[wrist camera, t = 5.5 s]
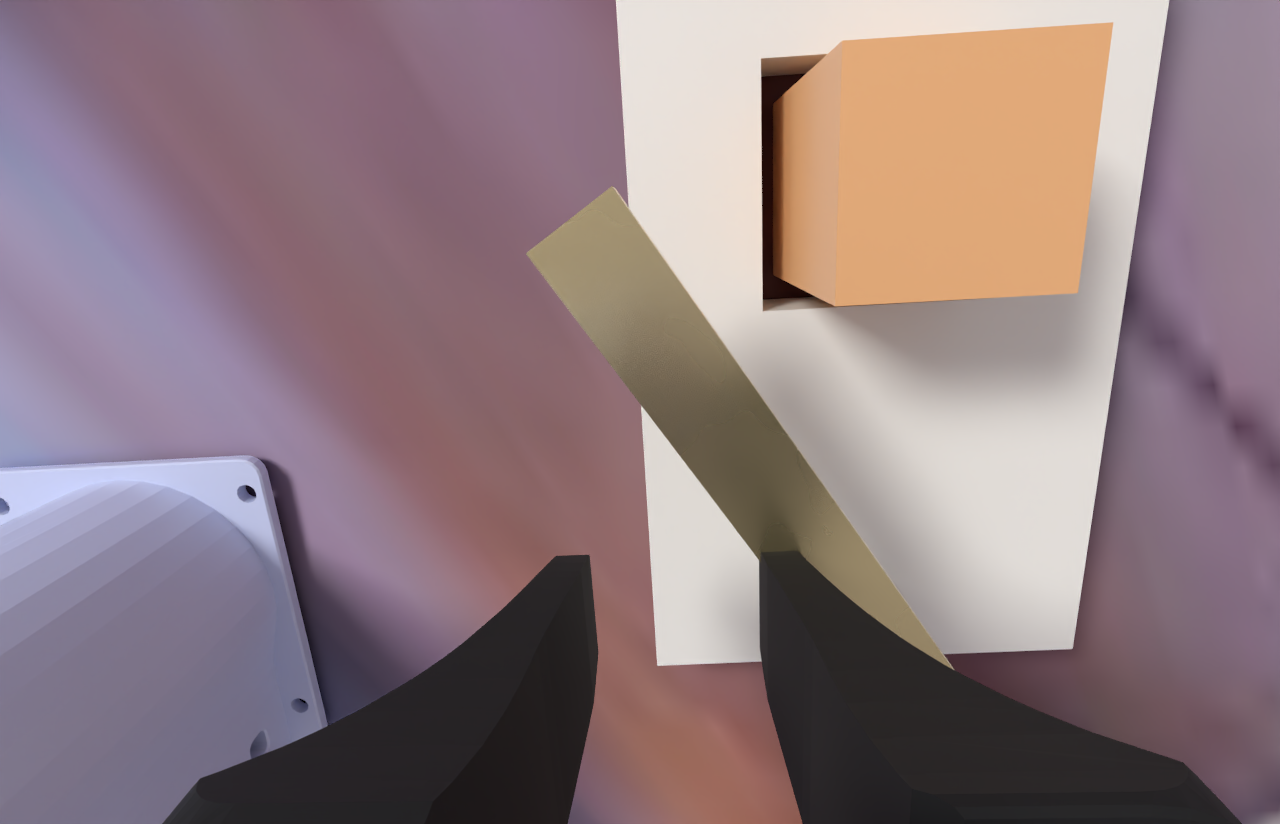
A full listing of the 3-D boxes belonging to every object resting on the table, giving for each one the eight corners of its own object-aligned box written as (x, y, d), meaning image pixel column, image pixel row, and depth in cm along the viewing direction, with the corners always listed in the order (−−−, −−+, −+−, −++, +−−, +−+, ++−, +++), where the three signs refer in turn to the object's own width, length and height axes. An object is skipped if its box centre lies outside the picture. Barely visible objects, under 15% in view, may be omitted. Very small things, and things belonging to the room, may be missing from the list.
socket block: (1030, 605, 19) (1198, 779, 13) (656, 621, 20) (659, 797, 14) (1115, -69, 15) (1435, -263, 9) (616, -31, 15) (594, -192, 9)
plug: (931, 266, 17) (1077, 293, 11) (772, 274, 17) (834, 306, 11) (943, 92, 16) (1113, 22, 10) (772, 103, 16) (842, 40, 10)
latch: (997, 720, 13) (1018, 752, 12) (915, 763, 13) (932, 796, 13) (620, 184, 10) (617, 182, 10) (530, 254, 11) (520, 257, 10)
